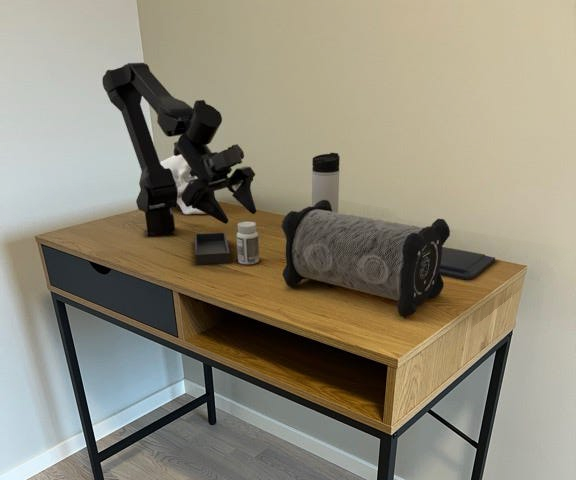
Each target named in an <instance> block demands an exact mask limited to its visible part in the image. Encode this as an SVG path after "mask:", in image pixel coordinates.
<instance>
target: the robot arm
mask: <svg viewBox="0 0 576 480" xmlns="http://www.w3.org/2000/svg"><path fill="white" fill-rule="evenodd" d="M101 80H102V81H101V82H102V87H103V89H104V91H105V93H106V95H107V97H108V99H109V101H110V103H111V104H112V105H113V106H114V107H115V108H116V109H117V110H119V111H120V112H121V116H122V118H123V121H124V124H125V127H126V130H127V134H128V135H129V139H130V142H131V143H132V144H131V145H132V146H133V151H134V153H135V156H136V159H137V162H138V164H139V168H140V171H141V173H140V177H139V181H138V184H139V188H140V190H139V193H138V195H137V197H136V200H135V202H136V206H137V209H138V210H139V211H142V212H144V216H145V217H144V218H145V224H146V237H160V236H173V235H174V232H175V231H176V225H175V215H174V212H173V211H172V210H171V209H172V208H177V207H178V206H177V196H178V189H177V186H176V182H175V181H174V178H173V175H172V171H171V170H170V169H169V168H167V169H165V168H164V167H163V166H162V165H161V164H160V162H161V161H160V158H159V156H158V153H157V150H156V147H155V144H154V141H153V137H152V135H151V132H150V130H149V126H148V123H147V120H146V117H145V114H144V111H143V108H142V105H141V102H142V98H144V100H145V101H146V103H148V105H149V106H150V107H151V108H152V110H153V111H154V112H155V113H156V115H157V117H156V118H157V120H156V123H157V124H158V126H159V128H160V129H161V130H162V132H163V134H164V135H165V136H166V137H169V138H170V137H179V138H178V140H177V141H174V142H173V156H178V155H182V156H183V158H184V159H185V161H186V162H187V164H188V165H189V166H190V168H191V171H190V172H189V174H190V175H191V176H192V177H193V176H197V178H198V179H194V180H190V182H189V183H188V185H187V186H186V188H185V189H184V190H183V192H182V193H181V198H182V201H183V202H184V204H185V205H186V207H189V206H192V208H193V209H194V208H196V209H198V210H200V211H202V212H204V213H207V214H206V215H209V216H211V217H212V218H214V219H216V220H218V221H219V222H221V223H223V224H224V225H227V224H228V223H229V218H228V216H227V214H226V213H225V211H224V210H223V208H222V206H221V205H220V203H219V202H218V200H217V198H216V195H215V191H220V190H223V189H228V191H229V192H231V193H232V195H231V196H232V197H233V198H234V199H235V200H236V201H237V202H238V203H239V204H240V205H242V207H244V208H245V209H246V211H248V212H249V213H251V214H252V215H255V214H256V213H257V209H256V205H255V204H256V203H255V202H254V201H255V200H254V198H253V194H252V190H251V189H252V188H251V186H252V182H254V177H255V176H256V173H255V172H254V170H253V169H252V167H251V166H241V167H238V168H235V170H234V171H233V169H232V168H233V167H234V166H237V165H238V164H239V165H240V164H242V163H243V159H244V158H245V152H244V150H243V149H242V148H241V146H239V144H238V143H237V144H232V145H231V146H229V147H227V149H224V150H221V151H219V152H217V151H215V152H212V151H211V149H210V147H209V146H208V145H209V144H211V143H212V141H213V140H214V138H215V136H216V134H217V132H218V130H219V128H220V126H221V124H222V123H223V116H222V114H221V112H220V110H217V108H216V107H214V106H212V105H211V104H208V103H206V101H205V99H199V100H198V99H197V100H195V101H194V103H193V107H192V106H191V105H189V104H188V103H187V102H185V101H184V100H181V99H178V98H176V97H175V96H173V95H172V94H171V93H170V92H169V91H168V90H167V89H166V87H165V86H164V85H163V84H162V82H161V81H160V80H159V79H158V78H157V77H156V75H154V74H153V72H152V71H151V69H150V66H149V65H148V64H147V63H144V62H128V63H127V64H124V65H122V66H120V67H118V68H117V67H116V68H115V69H107V70H106V71H105V73H104V75H103V76H102V79H101ZM232 171H233V172H232ZM231 172H232V174H231ZM229 174H231V175H230V176H228V175H229Z"/></svg>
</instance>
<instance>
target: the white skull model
mask: <svg viewBox="0 0 576 480" xmlns="http://www.w3.org/2000/svg"><path fill="white" fill-rule="evenodd" d="M160 164H161V165H162V166H163V167H164V168H165V169H167V168H169V169H170V170H171V171H172V175H173V178H174V181H175V182H176V186H177V189H178V196H177V207H178V206H179V207H180V209H181V211H182V213H183V214H184V215H186V216H187V215H208V214H207V213H204V212H202V211H200V210H198V209H196V208H194V209H193V208H192V206H189V207H186V205H185V204H184V202H183V201H182V198H181V193H182V192H183V190H184V189H185V188H186V186H187V185H188V183H189V182H190V180H194V179H198V178H197V176H193V177H192V176H191V175H190V174H189V172H190V171H191V168H190V166H189V165H188V164H187V162H186V161H185V159H184V158H183V156H182V155H178V156H174V155H172V156H170V157H168V158H165V159H164V160H162V161H160Z"/></svg>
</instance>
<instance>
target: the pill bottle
mask: <svg viewBox="0 0 576 480" xmlns="http://www.w3.org/2000/svg"><path fill="white" fill-rule="evenodd" d="M237 231H238V232H237V233H236V249H237V262H238V263H239V264H241V265H254V264H257V263H259V262H260V245H259V233H258V232H257V223H256V222H254V221H241V222H239V223H237Z"/></svg>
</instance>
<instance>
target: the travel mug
mask: <svg viewBox="0 0 576 480" xmlns="http://www.w3.org/2000/svg"><path fill="white" fill-rule="evenodd" d="M340 161H341V160H340V155H339V153H338V152H330V153H323V154H318V155H315V156H314V157H312V168H311V172H312V174H311V207H313V206H315V204H316V203H317V202H319V201H321V200H328V201H329V202H330V204H331V208H332V212H336V213H339V197H340V195H339V193H340Z"/></svg>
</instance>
